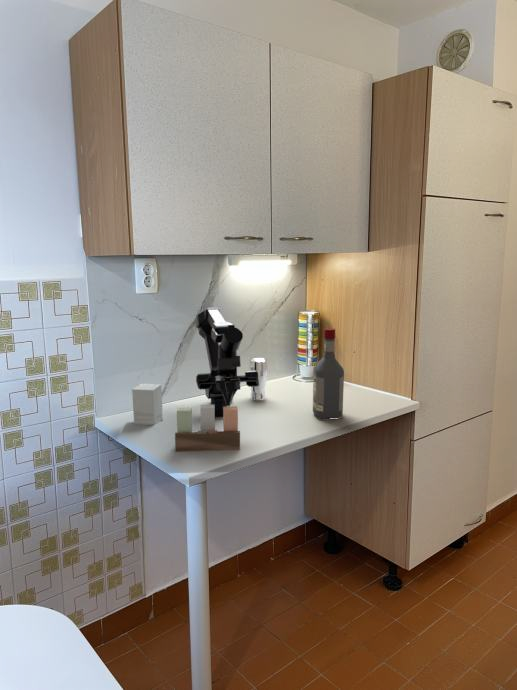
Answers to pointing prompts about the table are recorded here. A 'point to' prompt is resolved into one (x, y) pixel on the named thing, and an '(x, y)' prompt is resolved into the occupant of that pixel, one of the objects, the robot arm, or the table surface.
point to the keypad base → (207, 440)
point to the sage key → (184, 419)
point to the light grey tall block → (207, 417)
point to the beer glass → (261, 368)
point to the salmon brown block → (230, 418)
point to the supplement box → (147, 404)
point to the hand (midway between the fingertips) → (228, 405)
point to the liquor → (328, 382)
